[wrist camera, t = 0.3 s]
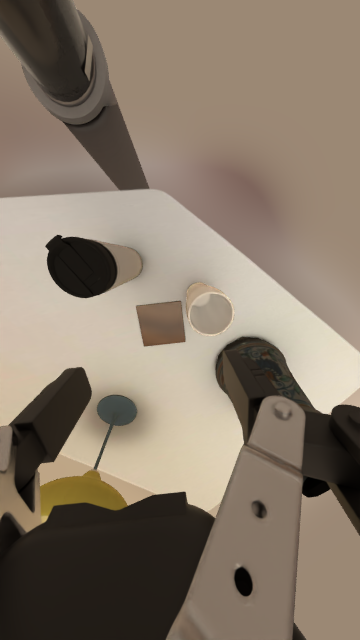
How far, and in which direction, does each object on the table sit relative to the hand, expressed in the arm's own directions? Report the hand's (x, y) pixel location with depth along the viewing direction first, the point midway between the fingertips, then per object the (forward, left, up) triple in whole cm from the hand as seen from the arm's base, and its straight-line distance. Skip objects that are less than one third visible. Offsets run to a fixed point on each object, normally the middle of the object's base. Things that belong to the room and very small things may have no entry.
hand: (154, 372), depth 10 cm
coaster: (+8, -3, -30) cm, 31 cm away
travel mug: (-6, -8, -30) cm, 32 cm away
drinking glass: (+2, +6, -30) cm, 31 cm away
